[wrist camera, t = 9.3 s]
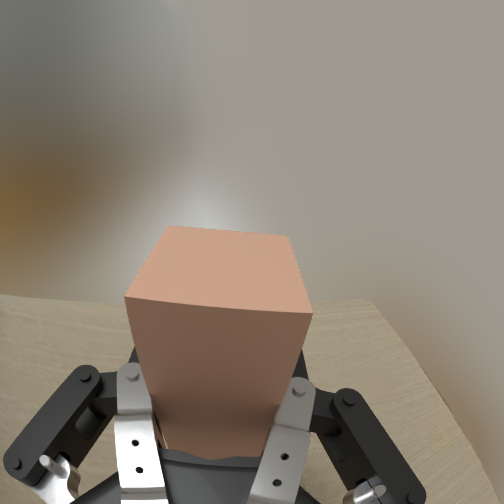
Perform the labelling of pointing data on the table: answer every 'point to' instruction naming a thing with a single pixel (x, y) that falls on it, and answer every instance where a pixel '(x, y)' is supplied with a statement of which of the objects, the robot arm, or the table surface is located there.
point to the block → (218, 335)
